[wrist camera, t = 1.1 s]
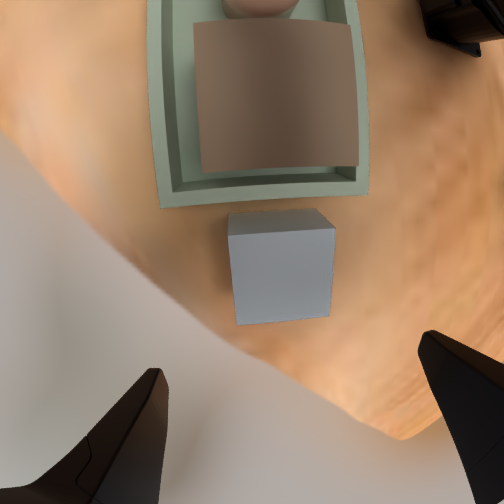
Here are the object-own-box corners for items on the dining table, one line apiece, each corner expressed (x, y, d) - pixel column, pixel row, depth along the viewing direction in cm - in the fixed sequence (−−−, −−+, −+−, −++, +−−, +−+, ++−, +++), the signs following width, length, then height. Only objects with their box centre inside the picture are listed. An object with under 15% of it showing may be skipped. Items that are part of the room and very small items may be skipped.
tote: (326, -30, 12) (343, -55, 9) (343, 182, 19) (368, 195, 16) (163, -27, 12) (151, -53, 8) (174, 193, 19) (160, 208, 15)
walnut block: (316, 53, 15) (350, 24, 10) (321, 155, 18) (358, 166, 12) (205, 55, 15) (193, 23, 9) (212, 160, 18) (202, 173, 12)
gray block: (314, 207, 20) (335, 228, 16) (313, 282, 22) (329, 315, 18) (228, 213, 20) (227, 235, 16) (235, 289, 22) (236, 325, 18)
